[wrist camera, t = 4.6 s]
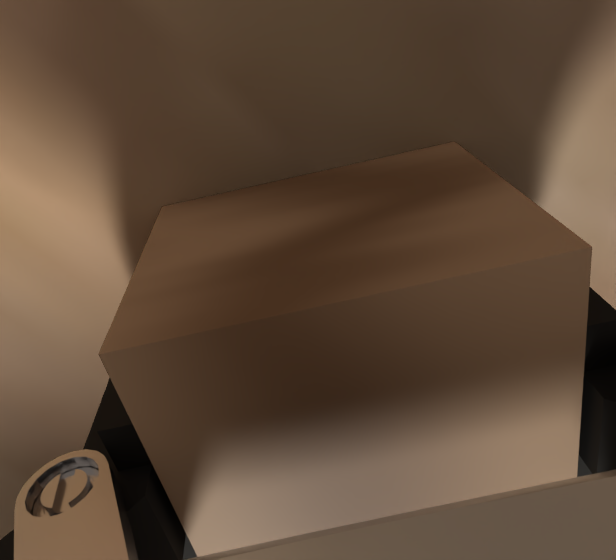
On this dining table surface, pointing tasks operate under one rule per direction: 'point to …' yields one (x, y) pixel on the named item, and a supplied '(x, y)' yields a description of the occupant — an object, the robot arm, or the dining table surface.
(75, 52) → the dining table surface
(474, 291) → the walnut block
